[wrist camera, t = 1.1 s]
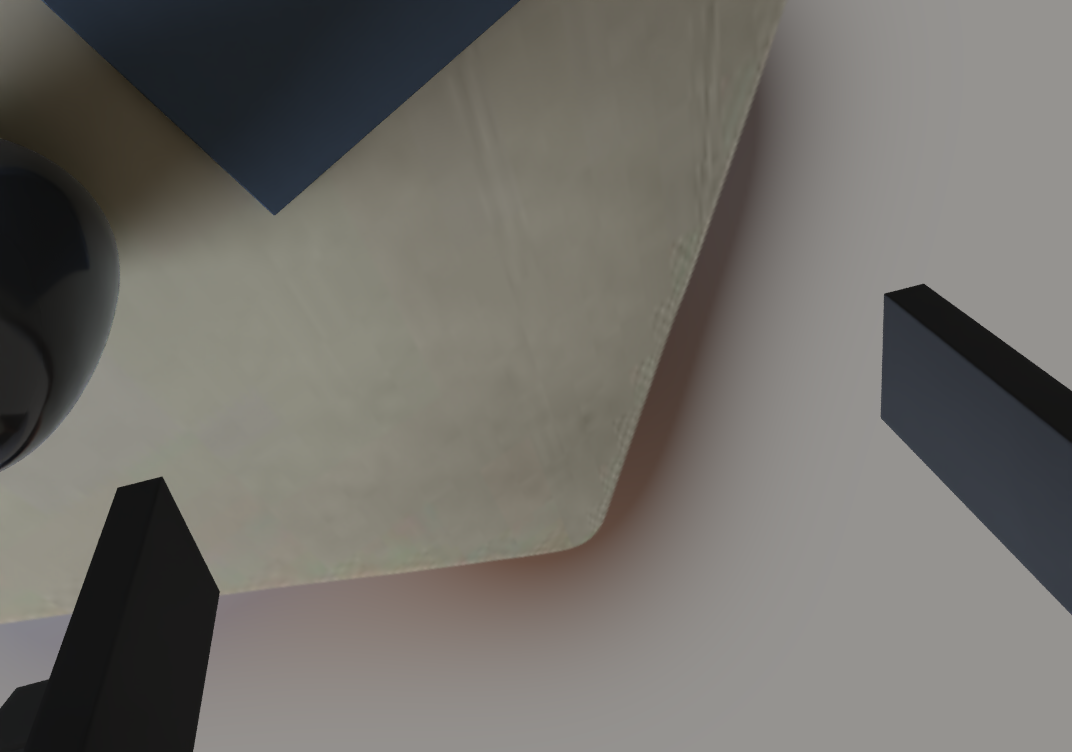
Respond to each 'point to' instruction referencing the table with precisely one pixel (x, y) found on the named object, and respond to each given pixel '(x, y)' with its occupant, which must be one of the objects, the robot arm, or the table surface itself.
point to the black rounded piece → (48, 296)
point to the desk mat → (278, 71)
